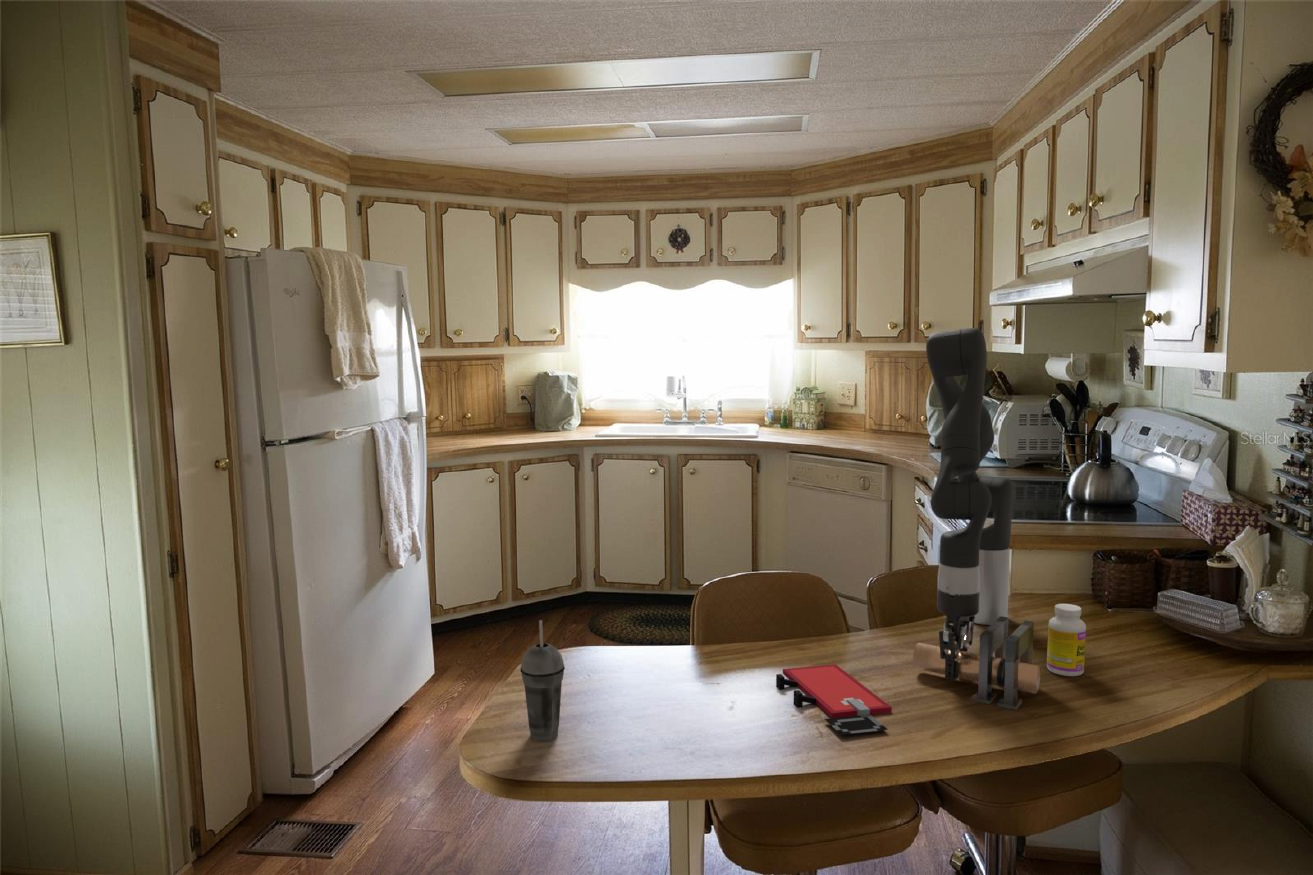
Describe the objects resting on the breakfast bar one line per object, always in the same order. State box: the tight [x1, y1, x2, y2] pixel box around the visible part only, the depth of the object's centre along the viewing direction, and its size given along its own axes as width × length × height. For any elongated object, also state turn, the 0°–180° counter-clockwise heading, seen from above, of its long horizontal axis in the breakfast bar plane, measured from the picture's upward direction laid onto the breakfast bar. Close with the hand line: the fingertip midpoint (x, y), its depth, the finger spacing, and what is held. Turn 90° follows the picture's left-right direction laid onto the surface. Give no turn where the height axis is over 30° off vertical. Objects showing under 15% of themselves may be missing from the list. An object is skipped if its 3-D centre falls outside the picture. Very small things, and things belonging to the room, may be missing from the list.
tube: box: [912, 642, 1041, 695], centre depth 169 cm, size 22×5×5 cm, turn 54°
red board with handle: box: [775, 664, 893, 735], centre depth 163 cm, size 30×3×15 cm
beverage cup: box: [520, 619, 566, 743], centre depth 149 cm, size 7×7×20 cm
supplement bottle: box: [1046, 603, 1087, 677], centre depth 175 cm, size 7×7×13 cm
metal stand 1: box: [971, 616, 1009, 705], centre depth 167 cm, size 15×3×12 cm, turn 144°
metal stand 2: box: [996, 620, 1034, 711], centre depth 164 cm, size 15×3×12 cm, turn 144°
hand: (956, 674), depth 171 cm, fingers closed on tube, 5 cm apart
